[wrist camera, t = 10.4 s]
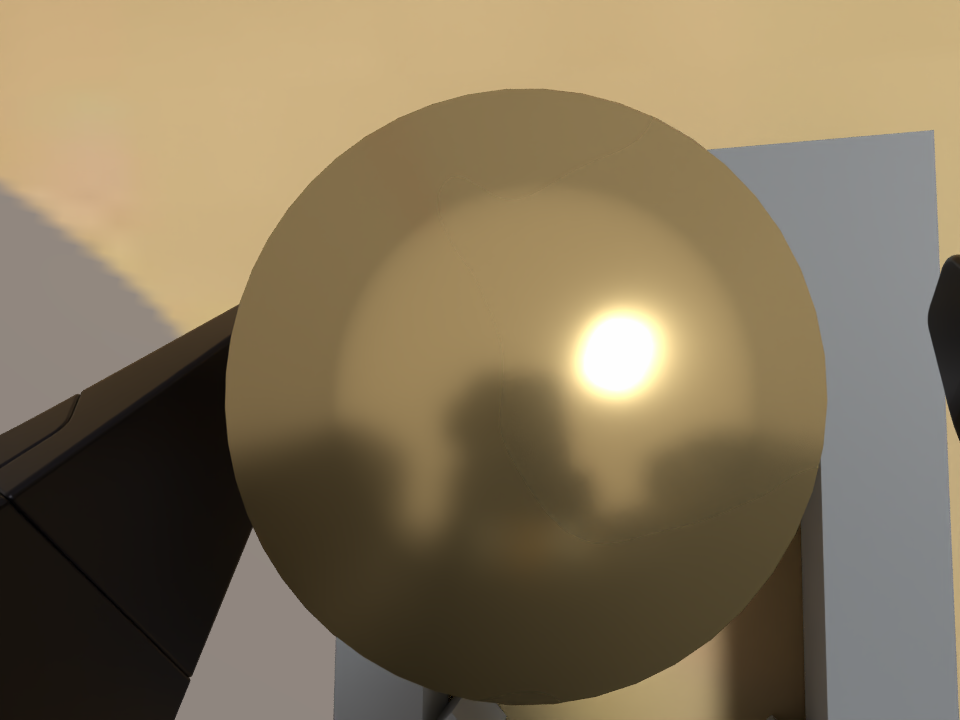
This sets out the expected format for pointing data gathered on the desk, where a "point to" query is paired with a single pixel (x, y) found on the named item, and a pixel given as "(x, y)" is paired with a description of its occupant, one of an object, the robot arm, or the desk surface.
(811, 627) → the square frame
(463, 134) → the brass peg
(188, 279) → the desk surface
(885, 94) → the desk surface
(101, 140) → the desk surface
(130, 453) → the robot arm
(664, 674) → the desk surface
